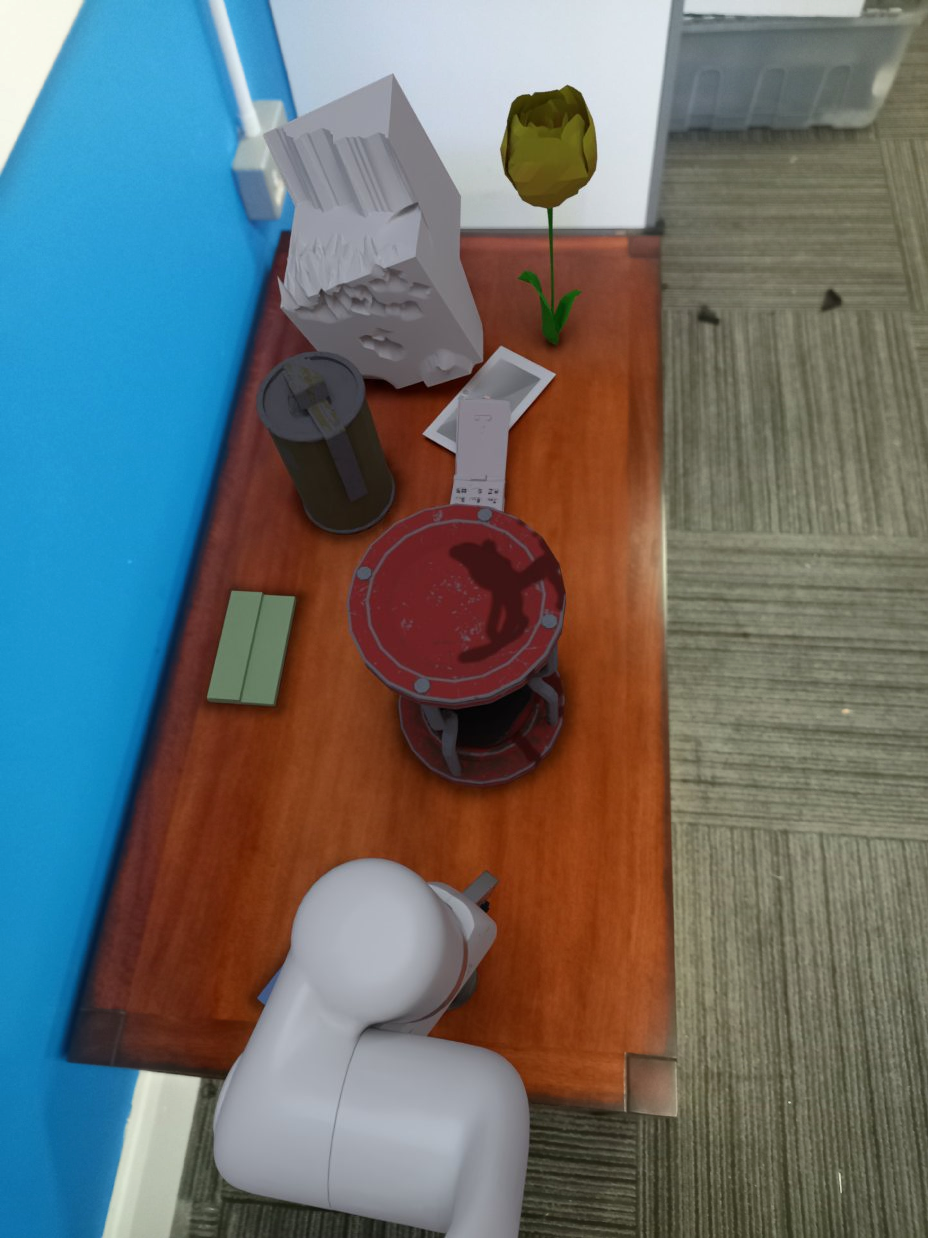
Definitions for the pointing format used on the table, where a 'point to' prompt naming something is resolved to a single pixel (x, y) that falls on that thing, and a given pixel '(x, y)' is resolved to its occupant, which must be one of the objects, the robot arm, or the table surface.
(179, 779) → the table surface
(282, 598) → the towel
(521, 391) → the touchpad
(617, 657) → the table surface
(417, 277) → the grey carved stone block
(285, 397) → the canister
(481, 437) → the mobile phone
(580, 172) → the flower
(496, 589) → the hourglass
